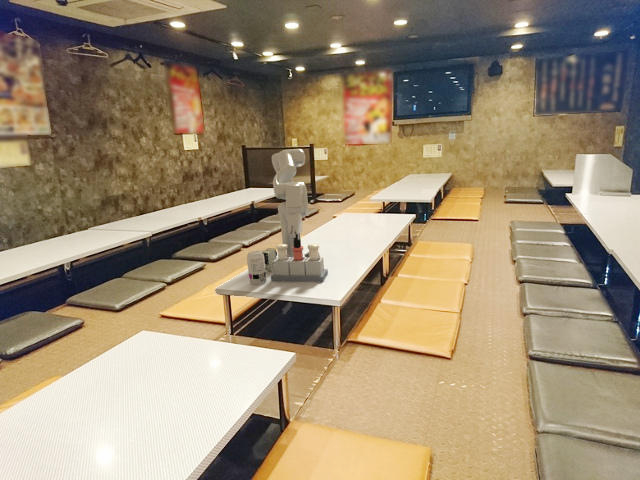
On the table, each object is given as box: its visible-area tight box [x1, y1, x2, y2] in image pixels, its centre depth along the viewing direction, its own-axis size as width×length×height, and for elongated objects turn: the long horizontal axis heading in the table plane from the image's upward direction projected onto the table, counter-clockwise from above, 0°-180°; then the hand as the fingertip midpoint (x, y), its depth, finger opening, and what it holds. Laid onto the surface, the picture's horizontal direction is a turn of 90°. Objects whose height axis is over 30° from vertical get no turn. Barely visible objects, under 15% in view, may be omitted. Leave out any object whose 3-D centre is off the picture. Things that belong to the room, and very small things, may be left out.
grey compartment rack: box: [270, 256, 329, 283], centre depth 208 cm, size 12×26×10 cm, turn 78°
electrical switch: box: [304, 251, 321, 257], centre depth 225 cm, size 9×5×9 cm, turn 152°
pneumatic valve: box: [261, 247, 278, 272], centre depth 223 cm, size 6×12×12 cm, turn 156°
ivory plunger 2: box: [307, 243, 320, 261], centre depth 205 cm, size 6×6×8 cm
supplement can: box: [246, 250, 267, 286], centre depth 204 cm, size 8×8×15 cm
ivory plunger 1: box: [275, 243, 288, 261], centre depth 208 cm, size 6×6×8 cm
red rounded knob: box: [292, 245, 304, 261], centre depth 207 cm, size 6×6×8 cm
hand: (297, 247), depth 206 cm, fingers closed
